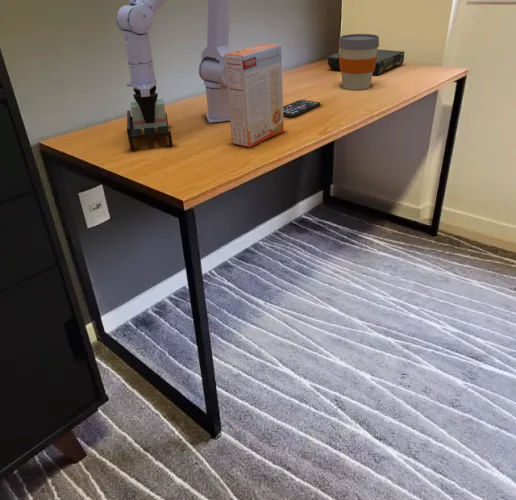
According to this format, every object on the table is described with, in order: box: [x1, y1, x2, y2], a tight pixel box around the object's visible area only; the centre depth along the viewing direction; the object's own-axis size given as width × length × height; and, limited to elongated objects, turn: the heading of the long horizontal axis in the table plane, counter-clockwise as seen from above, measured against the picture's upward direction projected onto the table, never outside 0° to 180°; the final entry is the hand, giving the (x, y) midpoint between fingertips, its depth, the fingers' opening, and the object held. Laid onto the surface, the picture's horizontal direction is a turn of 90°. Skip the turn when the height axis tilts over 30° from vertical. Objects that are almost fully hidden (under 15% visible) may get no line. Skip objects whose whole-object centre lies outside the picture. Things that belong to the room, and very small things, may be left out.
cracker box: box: [224, 42, 285, 148], centre depth 116 cm, size 14×6×21 cm, turn 141°
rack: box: [126, 109, 174, 152], centre depth 123 cm, size 10×16×6 cm, turn 13°
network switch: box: [327, 48, 405, 76], centre depth 182 cm, size 23×24×5 cm
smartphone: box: [283, 99, 321, 118], centre depth 140 cm, size 7×1×15 cm
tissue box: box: [129, 98, 168, 130], centre depth 121 cm, size 8×5×6 cm, turn 103°
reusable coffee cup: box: [338, 33, 380, 91], centre depth 157 cm, size 13×13×15 cm
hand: (149, 119), depth 122 cm, fingers closed on tissue box, 5 cm apart
